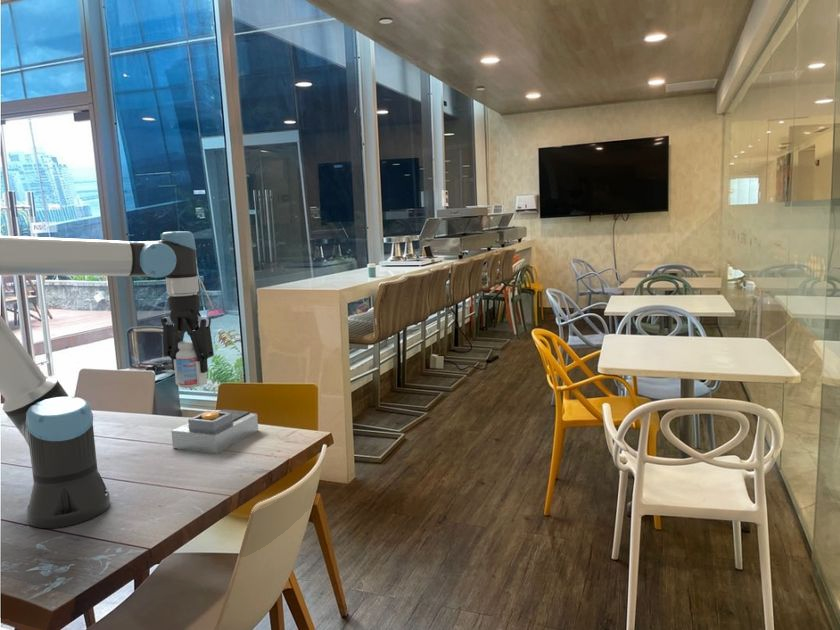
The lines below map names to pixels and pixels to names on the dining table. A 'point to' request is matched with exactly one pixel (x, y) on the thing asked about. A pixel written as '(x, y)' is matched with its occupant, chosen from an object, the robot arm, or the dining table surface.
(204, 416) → the button
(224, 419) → the stepped grey tray base
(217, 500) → the dining table surface
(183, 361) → the pill bottle
